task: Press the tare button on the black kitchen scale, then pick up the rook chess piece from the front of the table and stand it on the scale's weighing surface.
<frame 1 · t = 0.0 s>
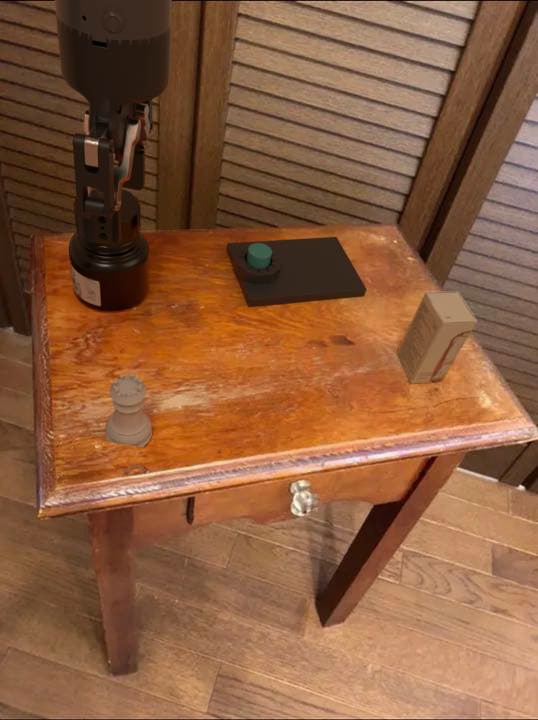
hand: (120, 213, 51), 18 cm above the table, tool pointing down, fingers open, 8 cm apart
beige upright block: (418, 368, 71), on the table
rook chess piece: (129, 435, 58), on the table
tare button: (259, 255, 74), point 4 cm above the table, slide at 0.1 cm
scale: (294, 273, 78), on the table
ink bottle: (111, 289, 71), on the table
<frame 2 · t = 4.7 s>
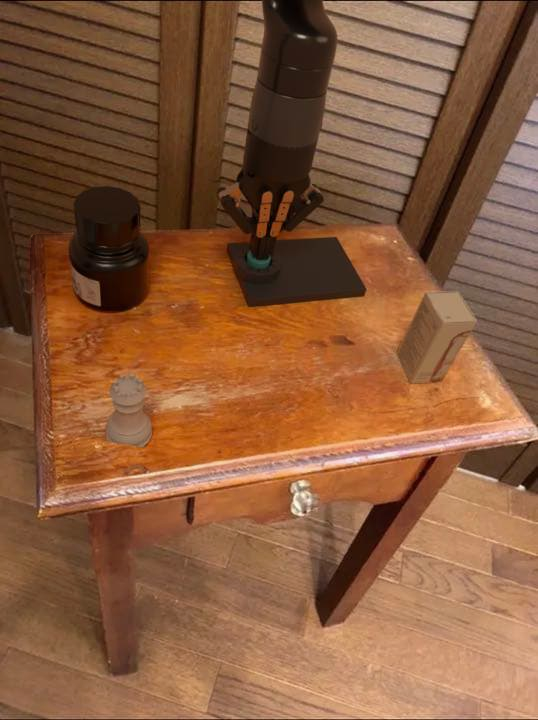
hand: (259, 255, 74), 4 cm above the table, tool pointing down, fingers closed
tare button: (258, 261, 75), point 3 cm above the table, slide at -0.7 cm, touching gripper
everything else where it was.
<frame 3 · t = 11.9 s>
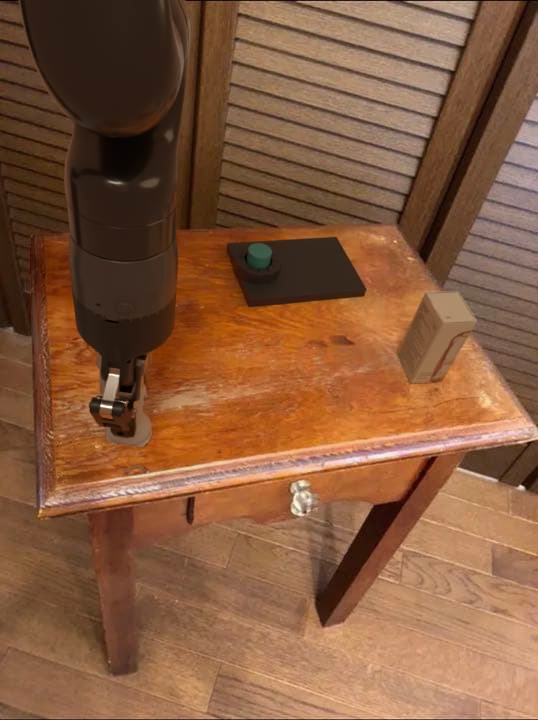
hand: (128, 415, 56), 3 cm above the table, tool pointing down, fingers closed on rook chess piece, 3 cm apart
rook chess piece: (129, 435, 58), on the table, touching gripper
tare button: (259, 255, 74), point 4 cm above the table, slide at 0.1 cm
everything else where it was.
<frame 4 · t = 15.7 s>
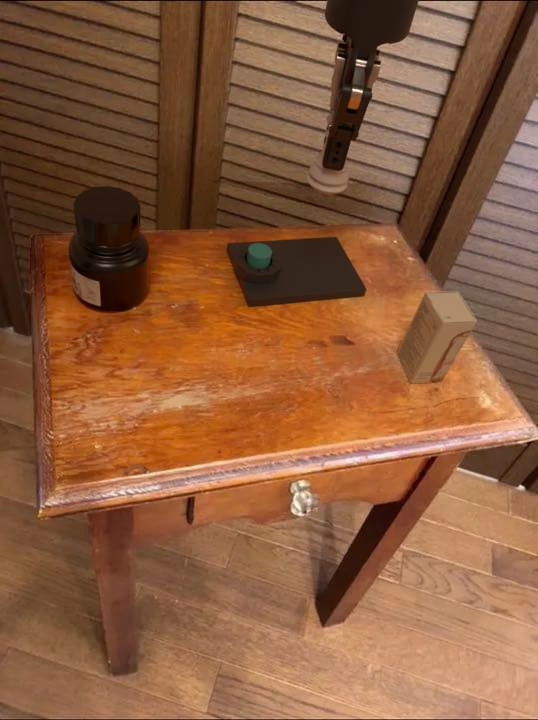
hand: (332, 157, 61), 20 cm above the table, tool pointing down, fingers closed on rook chess piece, 3 cm apart
rook chess piece: (325, 186, 63), point 16 cm above the table, touching gripper
everything else where it was.
when the fingers open (5 cm above the table, at t = 20.0 s): rook chess piece stays where it is, resting on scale.
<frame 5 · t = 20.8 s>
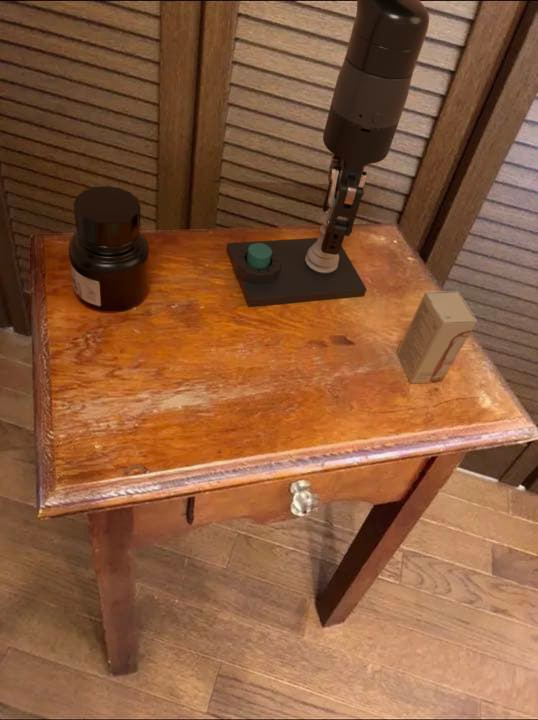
hand: (329, 231, 74), 7 cm above the table, tool pointing down, fingers open, 8 cm apart
rook chess piece: (320, 265, 78), point 1 cm above the table, touching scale
everything else where it was.
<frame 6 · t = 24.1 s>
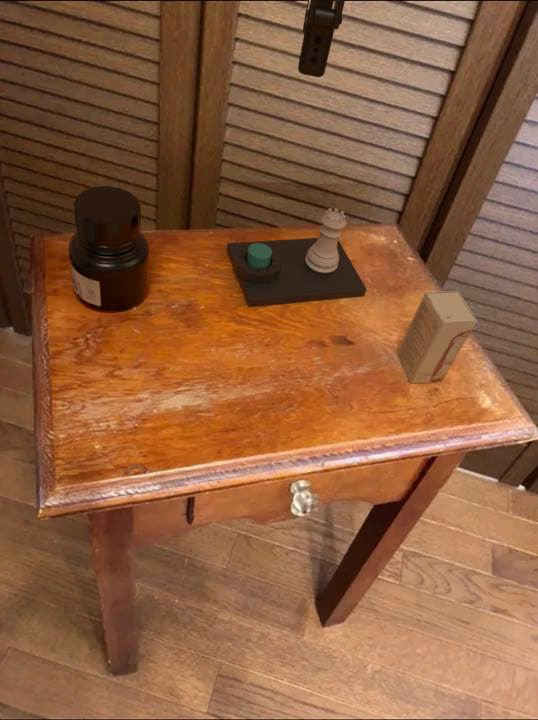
hand: (312, 53, 51), 30 cm above the table, tool pointing down, fingers open, 8 cm apart
nothing on the table moved.
at the end: tare button pushed in 0.9 cm at the most during the clip, back to where it started at the end; rook chess piece 0.1 cm from the target spot on the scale, point 1.2 cm above the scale's base; rook chess piece touching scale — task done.
